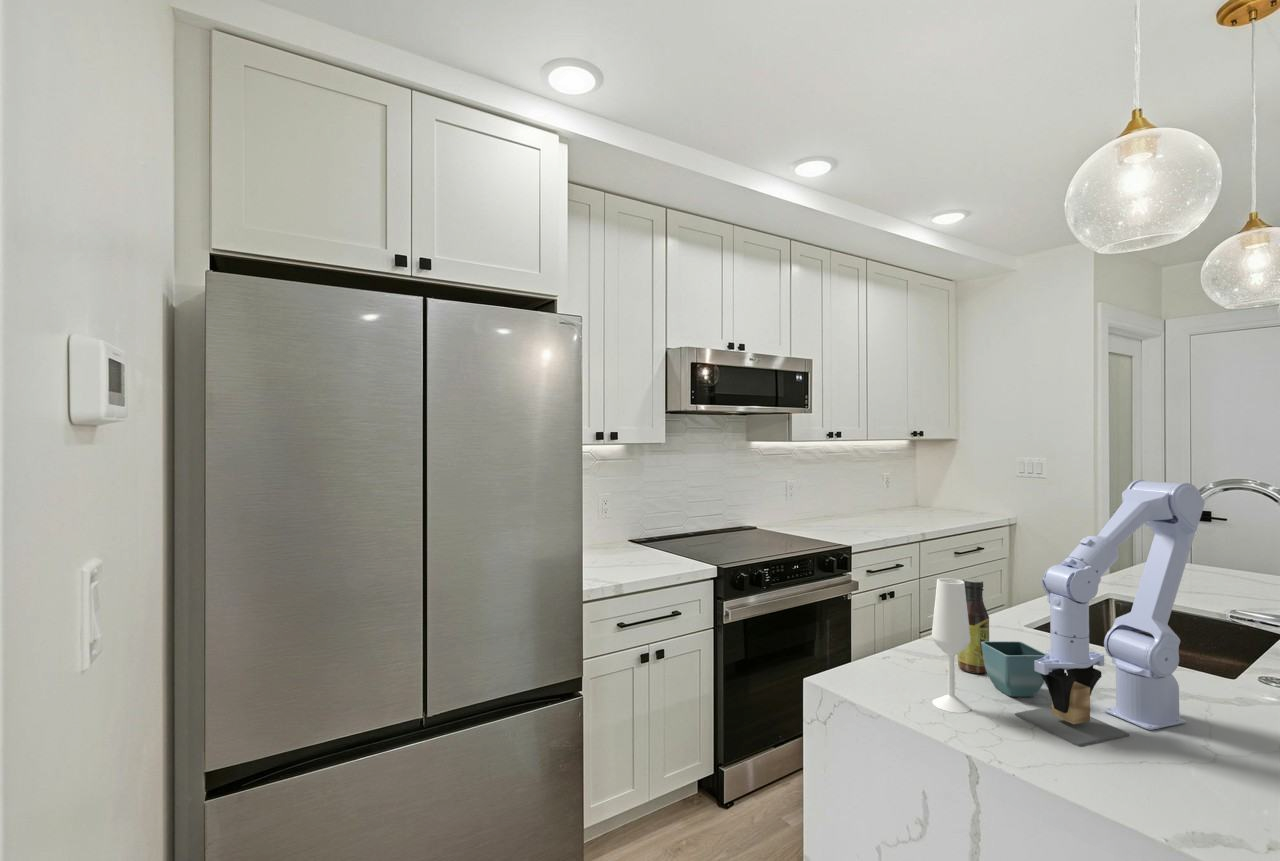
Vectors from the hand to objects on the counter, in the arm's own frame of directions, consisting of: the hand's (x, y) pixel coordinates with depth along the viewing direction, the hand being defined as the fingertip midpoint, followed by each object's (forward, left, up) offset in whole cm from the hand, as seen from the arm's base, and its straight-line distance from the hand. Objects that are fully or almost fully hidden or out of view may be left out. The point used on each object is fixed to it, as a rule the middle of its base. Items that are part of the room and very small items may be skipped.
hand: (1070, 708), depth 110 cm
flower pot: (-3, -14, -3) cm, 15 cm away
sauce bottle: (-5, -26, -3) cm, 27 cm away
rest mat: (0, 0, -3) cm, 3 cm away
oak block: (0, 0, -2) cm, 2 cm away
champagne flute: (+14, -13, -3) cm, 19 cm away
